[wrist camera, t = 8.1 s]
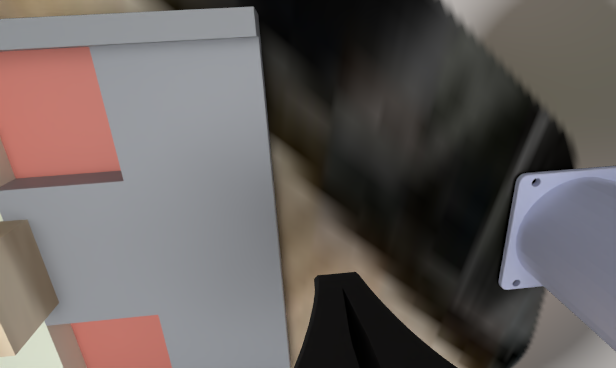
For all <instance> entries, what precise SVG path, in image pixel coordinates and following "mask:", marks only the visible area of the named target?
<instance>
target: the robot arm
mask: <svg viewBox="0 0 616 368" xmlns="http://www.w3.org/2000/svg"><path fill="white" fill-rule="evenodd" d="M534 179H536V181H535V182H534V183H533V184H532V181H533V180H534ZM515 280H516V281H515ZM514 281H515V282H514ZM498 282H499V285H500V286H501V287H502V288H503V289H505V290H509V289H519V288H529V287H539V286H544V287H545V288H546V289H547V290H548V291H549V292H551V293H552V294H553V295H554V296H555V297H556V298H557V299H558V300H559V301H561V302H562V303H563V304H564V305H565V306H566V307H567V308H568V309H569V310H571V311H572V312H573V313H574V314H575V315H576V316H577V317H578V318H579V319H580V320H582V321H583V322H584V323H585V324H586V325H587V326H588V327H589V328H590V329H591V330H593V331H594V332H595V333H596V334H597V335H598V336H599V337H600V338H601V339H603V340H604V341H605V342H606V343H607V344H608V345H609V346H610V347H611V348H612V349H614V350H615V351H616V166H606V167H594V168H581V169H569V170H557V171H545V172H532V173H524V174H521V175H520V176H519V177H518V178H517V180H516V184H515V189H514V195H513V201H512V206H511V212H510V218H509V224H508V229H507V235H506V241H505V247H504V252H503V258H502V264H501V270H500V275H499V281H498ZM314 283H315V296H314V303H313V308H312V313H311V318H310V322H309V326H308V329H307V332H306V336H305V339H304V342H303V345H302V348H301V351H300V354H299V356H298V359H297V361H296V364H295V366H294V368H457V367H456V366H454V365H453V364H451V363H450V362H449V361H447V360H446V359H444V358H443V357H442V356H441V355H439V354H438V353H437V352H435V351H434V350H433V349H432V348H430V347H429V346H428V345H427V344H426V343H424V342H423V341H422V340H421V339H420V338H418V337H417V336H416V335H415V334H414V333H413V332H412V331H411V330H410V329H408V328H407V327H406V326H405V325H404V324H403V323H402V322H401V321H400V320H399V319H398V318H397V317H396V316H395V315H394V314H393V313H392V312H391V311H390V310H389V309H388V308H387V307H386V306H385V305H384V304H383V303H382V302H381V300H380V299H379V298H378V297H377V296H376V295H375V294H374V293H373V291H372V290H371V289H370V288H369V287H368V286H367V284H366V283H365V282H364V281H363V279H362V278H361V277H360V276H359V275H358V274H357V273H356V272H349V273H339V274H329V275H318V276H317V277H316V278H315V279H314Z"/></svg>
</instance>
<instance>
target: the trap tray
mask: <svg viewBox="0 0 616 368" xmlns="http://www.w3.org/2000/svg"><path fill="white" fill-rule="evenodd" d="M26 219H27V220H28V222H29V225H30V227H31V230H32V233H33V235H34V238H35V241H36V243H37V246H38V248H39V251H40V254H41V256H42V259H43V262H44V264H45V267H46V269H47V272H48V275H49V277H50V280H51V283H52V285H53V288H54V290H55V293H56V296H57V298H58V301H59V304H58V305H57V306H56V307H55V308H54V310H53V311H52V312H51V313H50V314H49V316H48V317H47V318H46V319H45V321H44V322H43V323H42V324H41V325H40V327H39V328H38V329H37V330H36V331H35V333H34V334H33V335H32V336H31V337H30V339H29V340H28V341H27V342H26V343H25V345H24V346H23V347H22V348H21V350H20V351H19V352H18V353H17V354H16V356H6V357H0V368H291V362H290V352H289V341H288V330H287V319H286V309H285V298H284V287H283V277H282V266H281V255H280V244H279V234H278V223H277V212H276V201H275V191H274V180H273V169H272V159H271V148H270V137H269V126H268V116H267V105H266V94H265V83H264V73H263V62H262V51H261V40H260V30H259V19H258V14H257V12H256V10H255V8H254V7H236V8H215V9H195V10H175V11H154V12H134V13H113V14H93V15H73V16H52V17H32V18H12V19H0V222H1V221H13V220H26Z"/></svg>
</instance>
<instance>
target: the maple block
mask: <svg viewBox="0 0 616 368" xmlns="http://www.w3.org/2000/svg"><path fill="white" fill-rule="evenodd" d="M58 304H59V301H58V298H57V296H56V293H55V290H54V288H53V285H52V283H51V280H50V277H49V275H48V272H47V269H46V267H45V264H44V262H43V259H42V256H41V254H40V251H39V248H38V246H37V243H36V241H35V238H34V235H33V233H32V230H31V227H30V225H29V222H28V220H27V219H26V220H13V221H1V222H0V357H6V356H16V354H17V353H18V352H19V351H20V350H21V348H22V347H23V346H24V345H25V343H26V342H27V341H28V340H29V339H30V337H31V336H32V335H33V334H34V333H35V331H36V330H37V329H38V328H39V327H40V325H41V324H42V323H43V322H44V321H45V319H46V318H47V317H48V316H49V314H50V313H51V312H52V311H53V310H54V308H55V307H56V306H57V305H58Z"/></svg>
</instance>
